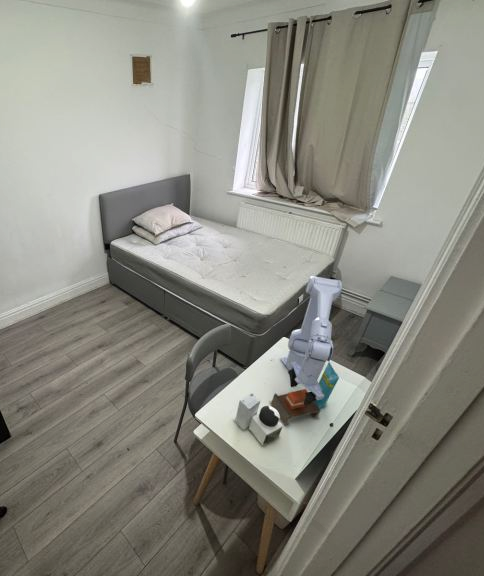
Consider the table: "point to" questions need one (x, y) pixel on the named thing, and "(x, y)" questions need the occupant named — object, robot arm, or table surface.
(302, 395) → the snack box
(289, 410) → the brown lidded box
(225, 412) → the table surface
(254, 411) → the cosmetic box
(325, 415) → the table surface
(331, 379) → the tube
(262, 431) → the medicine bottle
